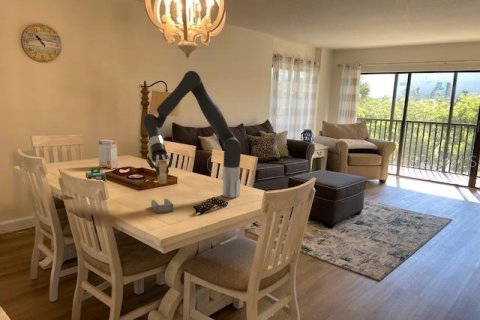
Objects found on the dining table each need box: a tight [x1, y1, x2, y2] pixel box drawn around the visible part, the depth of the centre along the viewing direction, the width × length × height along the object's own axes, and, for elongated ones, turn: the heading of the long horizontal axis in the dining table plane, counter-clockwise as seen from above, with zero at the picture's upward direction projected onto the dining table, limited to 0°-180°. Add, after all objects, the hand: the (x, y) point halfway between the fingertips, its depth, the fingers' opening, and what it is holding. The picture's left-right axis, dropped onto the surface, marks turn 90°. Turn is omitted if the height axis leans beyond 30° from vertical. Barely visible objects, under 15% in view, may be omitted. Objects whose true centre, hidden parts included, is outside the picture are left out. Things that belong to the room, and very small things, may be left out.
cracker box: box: [98, 138, 118, 169], centre depth 264 cm, size 14×6×21 cm, turn 58°
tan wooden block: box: [157, 160, 167, 184], centre depth 176 cm, size 4×4×11 cm
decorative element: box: [193, 196, 229, 215], centre depth 175 cm, size 22×5×6 cm, turn 141°
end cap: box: [150, 198, 174, 214], centre depth 173 cm, size 11×8×4 cm
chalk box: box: [85, 166, 107, 182], centre depth 196 cm, size 9×9×15 cm
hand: (163, 174), depth 174 cm, fingers closed on tan wooden block, 3 cm apart
